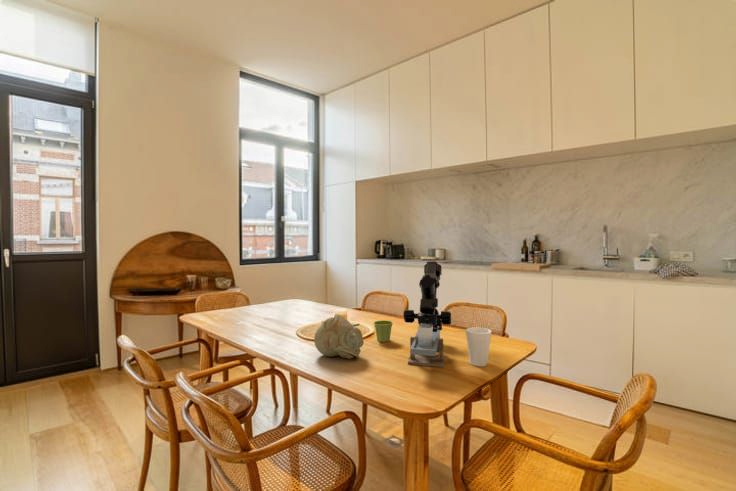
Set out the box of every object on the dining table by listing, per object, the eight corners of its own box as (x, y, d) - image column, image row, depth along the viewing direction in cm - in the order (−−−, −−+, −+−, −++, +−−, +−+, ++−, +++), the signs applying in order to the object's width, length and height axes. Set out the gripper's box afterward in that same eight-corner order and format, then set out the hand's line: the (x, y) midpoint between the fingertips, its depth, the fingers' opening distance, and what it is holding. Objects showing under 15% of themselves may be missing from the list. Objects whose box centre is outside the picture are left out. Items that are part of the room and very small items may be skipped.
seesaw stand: (410, 357, 151) (410, 334, 151) (445, 360, 148) (445, 336, 147) (407, 364, 143) (407, 340, 143) (444, 367, 140) (444, 342, 140)
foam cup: (487, 369, 137) (487, 334, 137) (463, 364, 142) (463, 331, 142) (493, 361, 145) (493, 329, 145) (470, 357, 150) (470, 326, 150)
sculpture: (313, 368, 142) (361, 350, 140) (302, 320, 151) (346, 302, 149) (330, 371, 158) (372, 355, 156) (318, 327, 167) (359, 311, 165)
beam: (418, 346, 159) (418, 328, 158) (439, 348, 156) (439, 329, 156) (410, 371, 131) (410, 348, 131) (435, 373, 129) (435, 350, 129)
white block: (419, 341, 143) (419, 323, 143) (432, 342, 142) (432, 324, 142) (417, 345, 137) (417, 327, 137) (431, 346, 136) (431, 328, 136)
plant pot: (370, 342, 173) (370, 324, 173) (377, 337, 182) (377, 319, 182) (389, 344, 170) (389, 325, 169) (395, 338, 178) (395, 321, 178)
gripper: (403, 290, 149) (399, 323, 139) (450, 291, 145) (450, 325, 135) (406, 305, 157) (403, 338, 147) (451, 307, 153) (450, 341, 143)
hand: (426, 335), depth 143 cm, fingers closed, pressing on white block
